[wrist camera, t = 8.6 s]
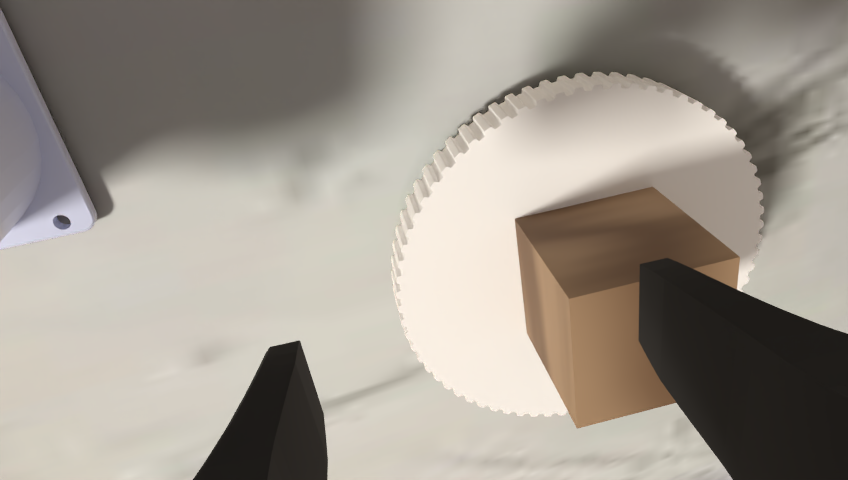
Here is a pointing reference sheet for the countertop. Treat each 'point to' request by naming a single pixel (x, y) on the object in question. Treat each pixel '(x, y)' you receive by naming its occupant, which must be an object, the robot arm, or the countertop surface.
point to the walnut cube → (605, 295)
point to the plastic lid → (543, 191)
